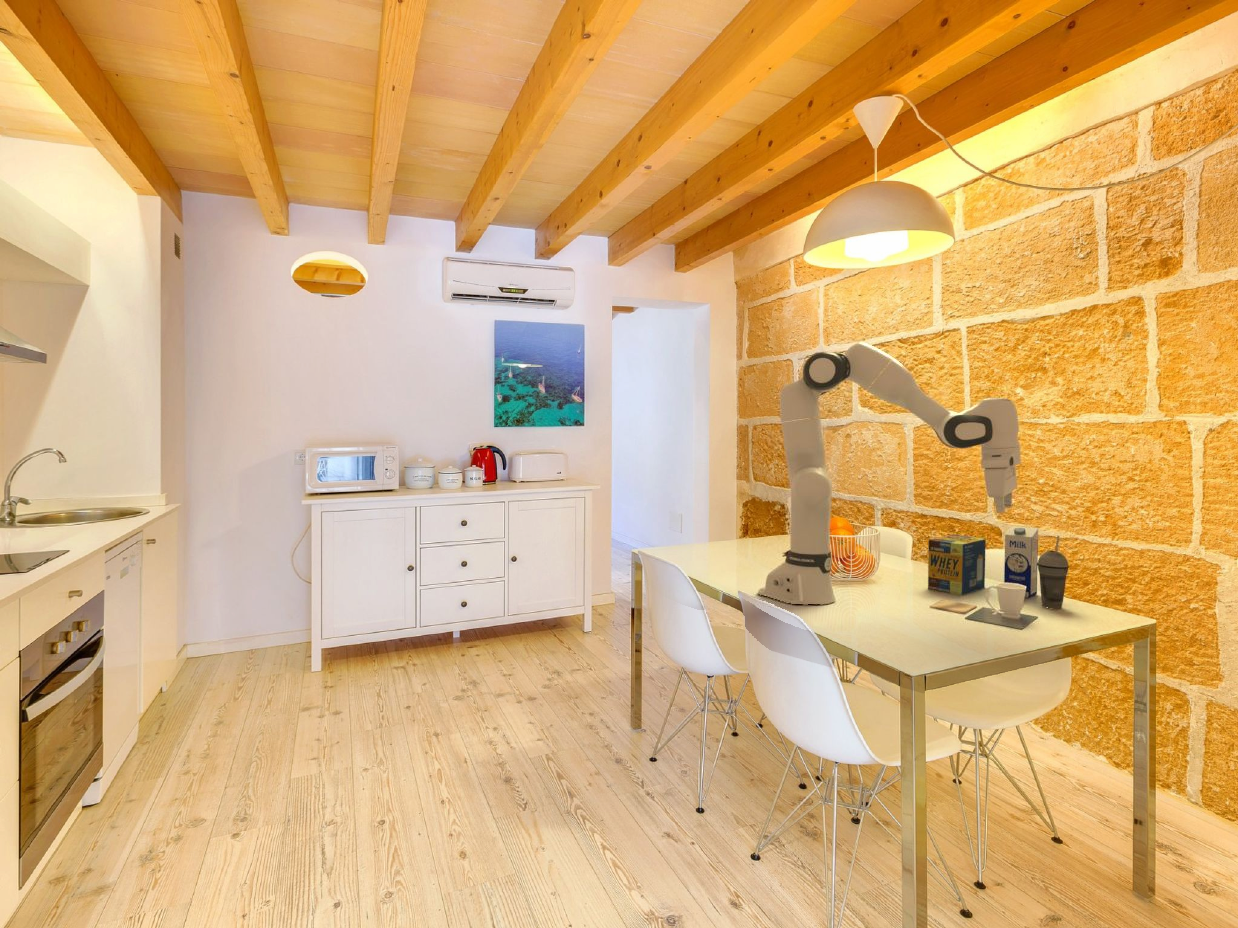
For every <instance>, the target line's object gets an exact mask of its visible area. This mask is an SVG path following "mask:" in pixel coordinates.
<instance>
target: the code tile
mask: <svg viewBox="0 0 1238 928" xmlns="http://www.w3.org/2000/svg"><path fill="white" fill-rule="evenodd" d="M998 610H999V611H1000V612H1002V611H1001V609H998ZM1003 613H1004V612H1003ZM1019 615H1020V618H1007V617H1004V616H1001V614H999V613H998V612H996V611H995V610H994V609H993V608H992V607H991V608H990V607H985V606H982V607H981V608H979V609H977V610H975V611H974V612H972V613H970V614H968V615H967V616H965V617H964V619H965V620H967V621H968V620H969V621H974V622H980V623H984V624H989V625H990V624H991V625H996V626H1001V627H1006V628H1010V629H1015V630H1016V629H1017V630H1023V629H1024V628H1026V627H1027V626H1029V625H1030V624H1031V623H1032V622H1034V621H1035V620H1037V619H1038V618H1039V617H1038V616H1036V615H1029V614H1027V613H1020V614H1019ZM1036 618H1037V619H1036Z"/></svg>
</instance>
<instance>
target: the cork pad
mask: <svg viewBox="0 0 1238 928" xmlns="http://www.w3.org/2000/svg"><path fill="white" fill-rule="evenodd" d="M929 608H930V609H935V610H940V611H945V612H951V613H957V614H962V615H966V614H967V613H969V612H971V611H973V610H975V609H976V608H977V605H974V604H971V603H970V604H969V603H963V602H957V601H954V600H953V601H951V600H946V599H941V600H939V601H937V602H935V603H933V604H931V605H929Z"/></svg>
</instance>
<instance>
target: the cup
mask: <svg viewBox="0 0 1238 928" xmlns="http://www.w3.org/2000/svg"><path fill="white" fill-rule="evenodd" d="M992 588H993V589H996V592H997V601H998V604H999V605H998V606H999V608H1000V609H997V608H996V607H995V606H994V605H993V603H992V602H991V601H990V599H989V593H990V590H991V589H992ZM1025 592H1026V586H1024V585H1020V584H1015V583H1004V582H998V583H997V584H996V585H991V586H989V587H987V589H986V591H985V599H986V603H987V604H988V605H989V607H991V608H992V609H994V610H995V611H996V612H998V613H999V614H1001V616H1004V617H1007V618H1020V615H1019V614H1022V613H1021V612H1022V609H1023V607H1024V602H1025V598H1024V597H1025ZM999 610H1001V611H1002V612H1000V611H999ZM1003 612H1004V613H1003Z"/></svg>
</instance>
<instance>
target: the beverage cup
mask: <svg viewBox="0 0 1238 928" xmlns="http://www.w3.org/2000/svg"><path fill="white" fill-rule="evenodd" d="M1059 542H1060V535H1057V536H1056V542H1055V549H1054V550H1048V551H1044V552H1043V553H1042V554H1041V555H1039V556H1038V557H1039V558H1038V563H1037V571H1038V574H1039V587H1040V599H1041V606H1042V607H1043V606H1044V607H1043V608H1045V607H1048V608H1047V609H1049V608H1052V609H1051V610H1062V609H1063V604H1064V597H1065V589H1066V582H1067V581H1066V580H1067V574H1068V571H1069V568H1070V566H1069V561H1068V560H1067V558H1066V556H1065V555H1064V554H1063V553H1061V552H1059V551H1058V548H1059ZM1061 608H1062V609H1061Z"/></svg>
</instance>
